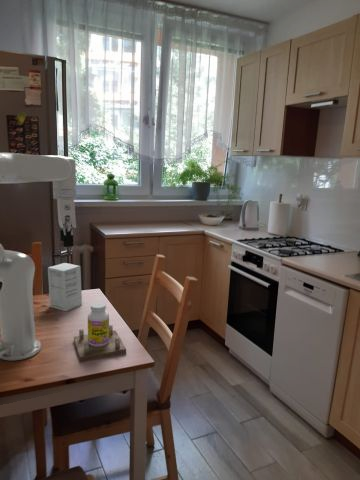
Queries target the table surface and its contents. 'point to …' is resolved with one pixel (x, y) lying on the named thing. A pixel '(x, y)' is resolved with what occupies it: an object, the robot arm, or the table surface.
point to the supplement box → (65, 286)
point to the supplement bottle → (98, 325)
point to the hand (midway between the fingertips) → (66, 243)
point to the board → (92, 352)
